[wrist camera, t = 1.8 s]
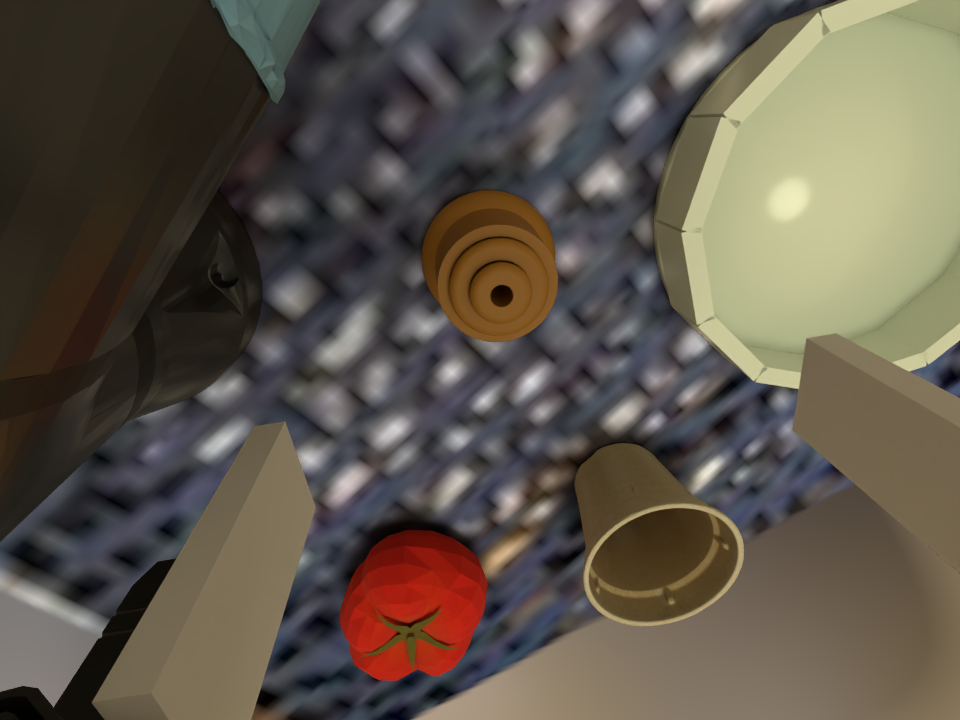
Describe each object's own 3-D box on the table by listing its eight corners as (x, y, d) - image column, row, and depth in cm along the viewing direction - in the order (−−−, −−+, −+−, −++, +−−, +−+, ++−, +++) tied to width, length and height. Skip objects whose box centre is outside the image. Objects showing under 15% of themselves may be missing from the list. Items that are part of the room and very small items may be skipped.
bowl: (583, 222, 30) (606, 237, 25) (885, -108, 24) (975, -156, 20) (779, 411, 36) (822, 448, 32) (1051, 184, 31) (1146, 193, 27)
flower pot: (656, 398, 35) (719, 478, 27) (696, 494, 39) (762, 588, 31) (531, 456, 36) (557, 548, 28) (582, 544, 40) (617, 646, 32)
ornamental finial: (498, 158, 28) (574, 263, 31) (395, 245, 29) (476, 338, 32) (518, 169, 21) (616, 306, 23) (380, 285, 22) (487, 400, 25)
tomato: (496, 528, 39) (507, 601, 33) (455, 627, 43) (457, 708, 37) (368, 502, 37) (354, 575, 31) (337, 609, 41) (320, 691, 35)
